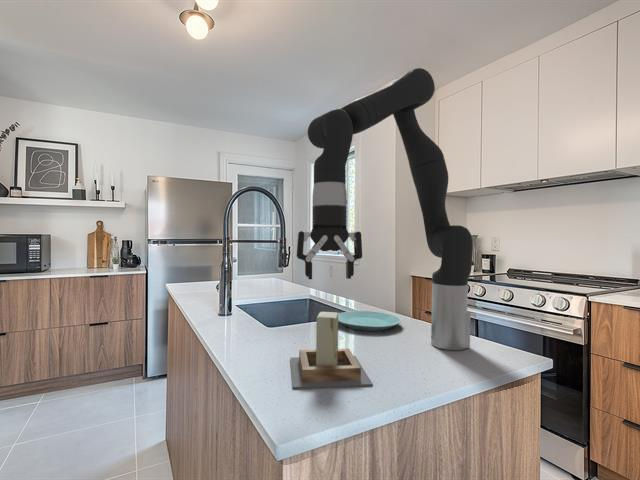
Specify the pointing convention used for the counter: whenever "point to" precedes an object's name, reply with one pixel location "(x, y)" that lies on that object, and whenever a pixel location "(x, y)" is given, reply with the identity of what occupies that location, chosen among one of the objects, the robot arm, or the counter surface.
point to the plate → (368, 320)
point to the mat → (299, 384)
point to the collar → (329, 367)
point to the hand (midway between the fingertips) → (329, 278)
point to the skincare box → (327, 339)
